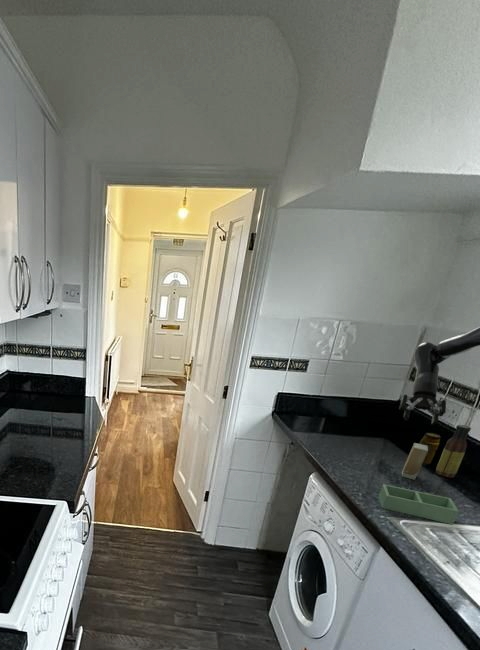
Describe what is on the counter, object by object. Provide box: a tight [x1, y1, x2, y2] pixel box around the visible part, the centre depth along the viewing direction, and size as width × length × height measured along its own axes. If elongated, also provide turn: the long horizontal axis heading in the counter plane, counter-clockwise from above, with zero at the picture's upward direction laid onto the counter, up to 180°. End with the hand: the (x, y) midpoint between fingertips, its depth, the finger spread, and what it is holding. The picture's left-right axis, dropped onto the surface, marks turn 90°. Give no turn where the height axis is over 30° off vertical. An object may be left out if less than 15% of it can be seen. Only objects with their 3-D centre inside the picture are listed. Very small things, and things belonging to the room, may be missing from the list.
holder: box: [378, 483, 460, 525], centre depth 131 cm, size 18×10×5 cm, turn 63°
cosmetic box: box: [401, 442, 428, 481], centre depth 155 cm, size 6×4×12 cm
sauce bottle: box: [435, 424, 472, 479], centre depth 156 cm, size 7×6×20 cm
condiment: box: [405, 432, 442, 465], centre depth 169 cm, size 7×8×12 cm
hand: (420, 421), depth 159 cm, fingers open, 8 cm apart
